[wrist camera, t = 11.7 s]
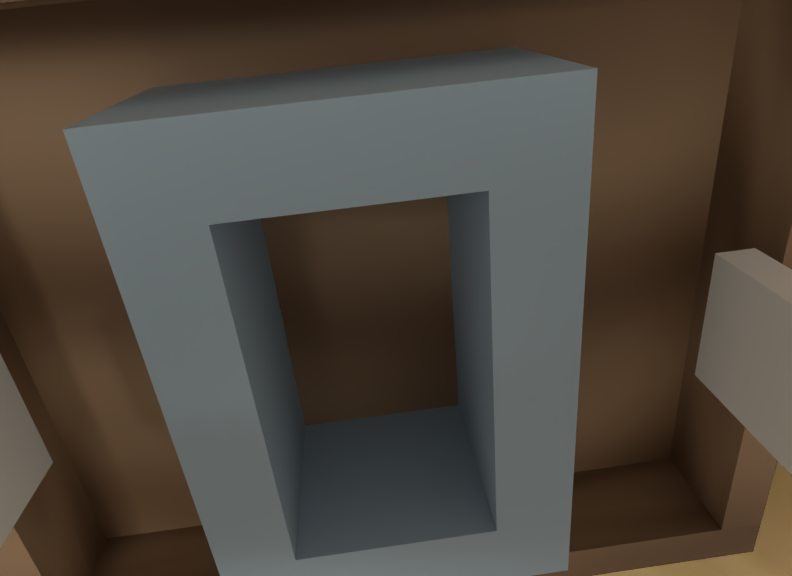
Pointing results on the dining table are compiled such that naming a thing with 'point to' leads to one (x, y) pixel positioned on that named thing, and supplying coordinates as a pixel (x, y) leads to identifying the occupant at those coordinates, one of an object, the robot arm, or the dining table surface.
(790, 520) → the dining table surface
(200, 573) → the tray
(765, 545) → the dining table surface
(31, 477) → the robot arm
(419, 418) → the grey-blue frame
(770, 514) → the dining table surface
